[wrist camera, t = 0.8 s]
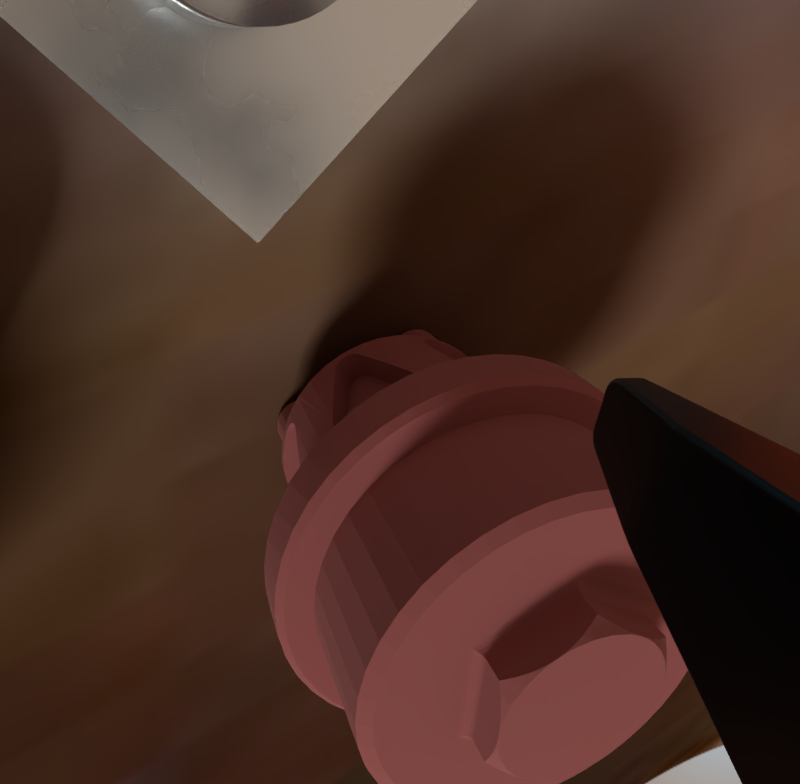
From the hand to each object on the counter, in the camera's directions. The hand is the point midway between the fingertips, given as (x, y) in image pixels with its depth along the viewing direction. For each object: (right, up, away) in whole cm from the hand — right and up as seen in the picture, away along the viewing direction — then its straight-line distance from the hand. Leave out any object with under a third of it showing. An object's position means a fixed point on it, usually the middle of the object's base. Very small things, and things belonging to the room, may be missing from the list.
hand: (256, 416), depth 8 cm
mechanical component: (+1, 0, +15) cm, 15 cm away
